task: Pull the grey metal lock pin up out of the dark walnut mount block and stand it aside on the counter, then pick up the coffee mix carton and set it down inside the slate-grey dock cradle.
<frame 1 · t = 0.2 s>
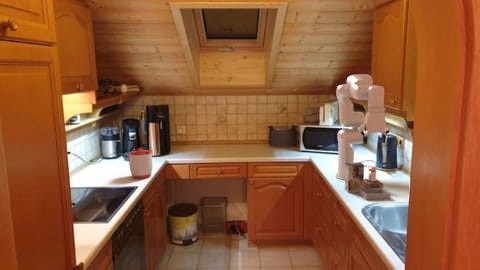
hand: (374, 143, 196), 31 cm above the worktop, tool pointing down, fingers open, 9 cm apart
lock pin: (372, 178, 218), in the mount block
dock cradle: (374, 196, 207), on the worktop
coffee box: (353, 191, 217), on the worktop
mount block: (371, 189, 219), on the worktop
citrus juicer: (140, 177, 256), on the worktop
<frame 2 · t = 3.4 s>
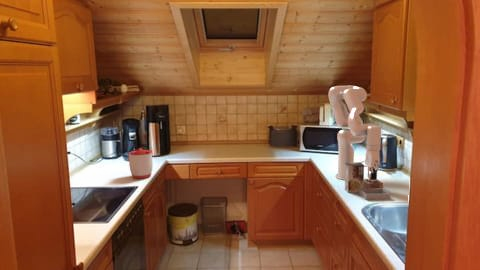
hand: (372, 178, 218), 7 cm above the worktop, tool pointing down, fingers closed on lock pin, 4 cm apart
lock pin: (372, 178, 218), in the mount block, touching gripper
everything else where it was.
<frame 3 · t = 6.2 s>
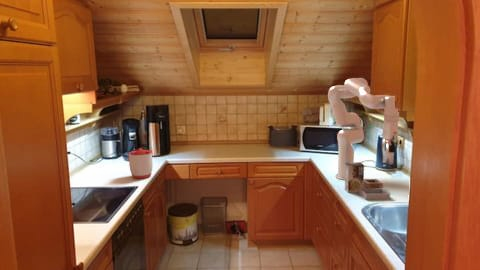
hand: (389, 151, 210), 24 cm above the worktop, tool pointing down, fingers closed on lock pin, 4 cm apart
lock pin: (389, 152, 210), point 23 cm above the worktop, touching gripper
everything else where it was.
when the fingers open (8 cm above the worktop, at t = 9.4 s): lock pin stays where it is, on the worktop.
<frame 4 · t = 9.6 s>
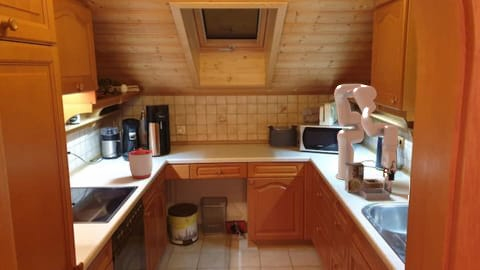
hand: (388, 178, 212), 8 cm above the worktop, tool pointing down, fingers open, 6 cm apart
lock pin: (388, 181, 212), on the worktop
everything else where it was.
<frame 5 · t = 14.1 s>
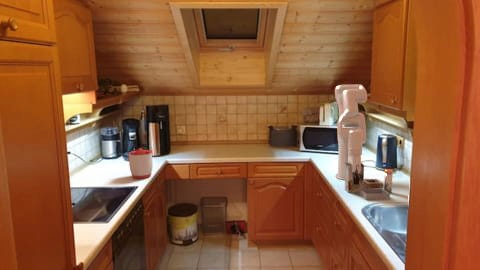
hand: (354, 182, 216), 5 cm above the worktop, tool pointing down, fingers closed on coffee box, 6 cm apart
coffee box: (353, 191, 217), on the worktop, touching gripper
everything else where it was.
when the fingers open (7 cm above the worktop, at t = 20.6 s): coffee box drops 2 cm, resting on dock cradle.
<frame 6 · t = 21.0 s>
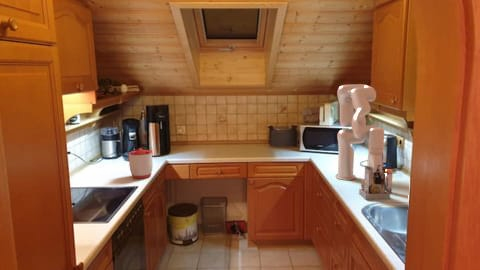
hand: (374, 181, 205), 8 cm above the worktop, tool pointing down, fingers open, 9 cm apart
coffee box: (373, 196, 207), resting on dock cradle
everything else where it was.
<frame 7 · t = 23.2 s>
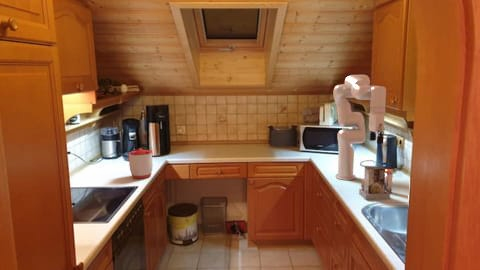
hand: (376, 142, 202), 30 cm above the worktop, tool pointing down, fingers open, 9 cm apart
nothing on the worktop moved.
at the end: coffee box 0.2 cm from the dock cradle (horizontally); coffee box tilted 0°; lock pin moved 9.1 cm from its start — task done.
